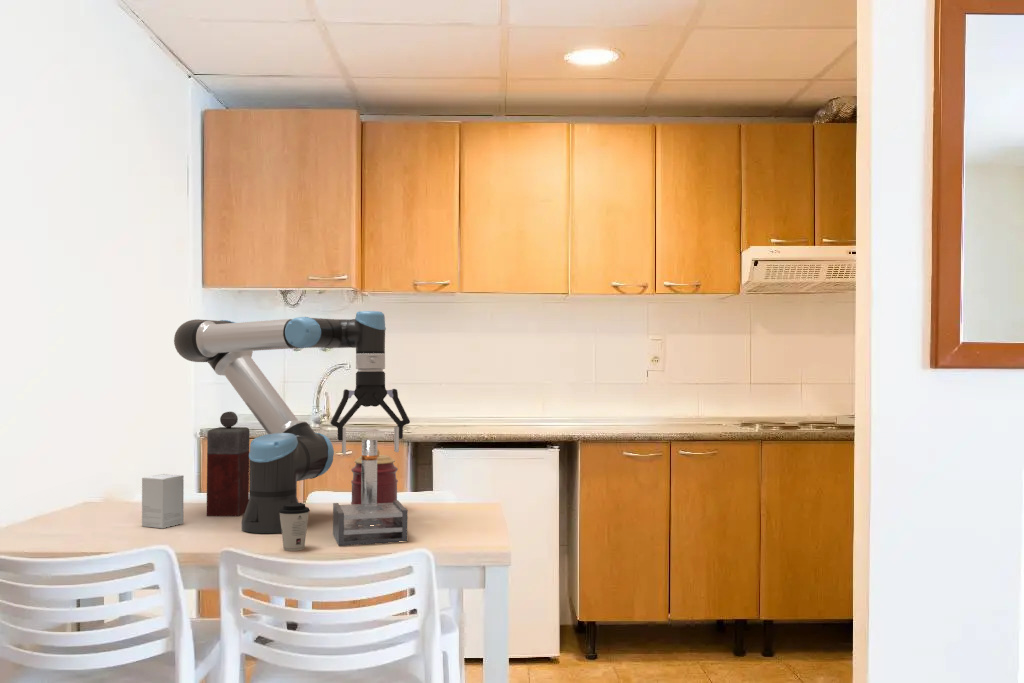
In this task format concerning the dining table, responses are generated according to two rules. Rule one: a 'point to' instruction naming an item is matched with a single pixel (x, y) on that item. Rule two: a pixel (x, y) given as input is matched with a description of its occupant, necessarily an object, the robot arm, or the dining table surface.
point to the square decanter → (227, 468)
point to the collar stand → (369, 523)
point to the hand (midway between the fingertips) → (370, 452)
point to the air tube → (369, 472)
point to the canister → (384, 480)
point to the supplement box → (162, 500)
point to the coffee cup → (294, 525)
